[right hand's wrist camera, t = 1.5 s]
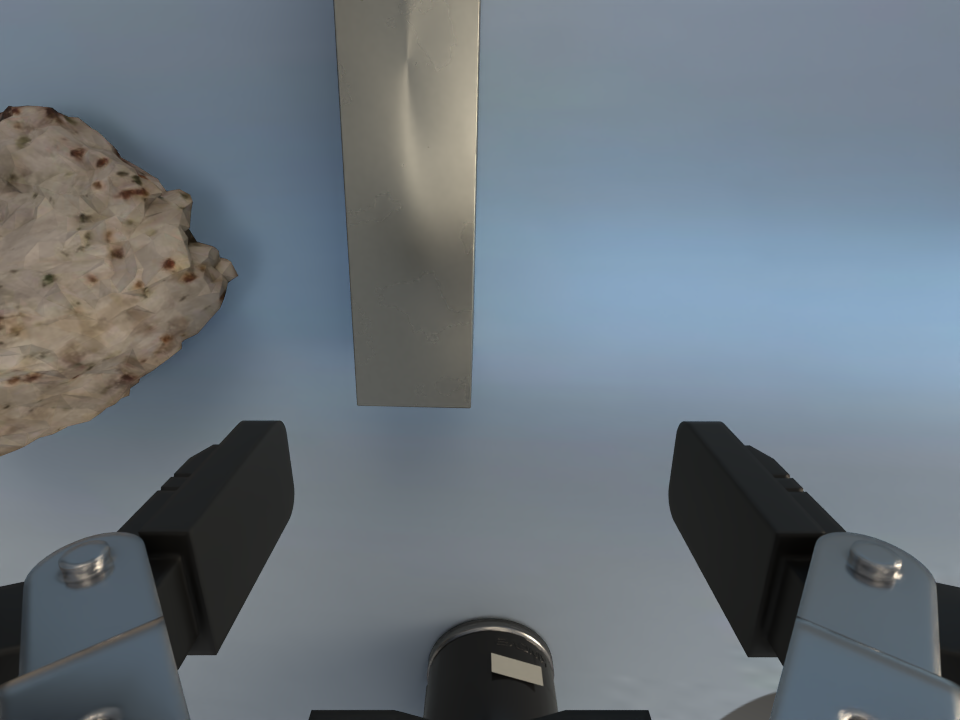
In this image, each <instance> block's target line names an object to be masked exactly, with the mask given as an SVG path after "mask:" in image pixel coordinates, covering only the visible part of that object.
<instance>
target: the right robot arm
mask: <svg viewBox="0 0 960 720" xmlns="http://www.w3.org/2000/svg"><path fill="white" fill-rule="evenodd" d="M293 504H294V483H293V476H292V469H291V461H290V454H289V447H288V440H287V433H286V428H285V426H284V424H283V422H282V421H241V422H240V423H239V424H238V425H237V426H236V427H235V428H234V429H233V430H232V431H231V432H230V433H229V434H228V436H227V437H226V438H225V439H224V440H223V441H222V442H221V443H220V444H219V445H212V446H210V447H208V448H207V449H205V450H203V451H201V452H200V453H198V454H196V455H194V456H193V457H191V458H189V459H188V460H187V461H186V462H185V463H184V464H183V465H182V466H181V467H180V468H179V470H178V471H177V472H176V473H175V474H174V477H171V478H170V479H169V480H168V481H167V482H166V483H165V484H164V485H163V486H162V487H161V491H157V492H156V493H155V494H154V495H153V496H152V497H151V498H150V499H149V500H148V501H147V502H146V503H145V504H144V505H143V506H142V507H141V508H140V509H139V510H138V511H137V512H136V513H135V514H134V515H133V516H132V517H131V518H130V519H129V520H128V521H127V522H126V523H125V524H124V525H123V526H122V527H121V528H120V529H119V530H118V531H117V532H110V533H103V534H98V535H94V536H90V537H87V538H83V539H81V540H78V541H75V542H73V543H71V544H68V545H66V546H64V547H62V548H60V549H58V550H57V551H55V552H53V553H52V554H50V555H49V556H47V557H46V558H44V559H43V560H42V561H40V562H39V563H38V564H37V565H36V566H35V567H34V568H33V569H32V570H31V571H30V573H29V574H28V575H27V577H26V579H25V582H21V583H16V584H11V585H6V586H1V587H0V720H190V716H189V712H188V709H187V705H186V701H185V697H184V693H183V689H182V686H181V682H180V678H179V674H178V669H179V668H180V666H181V664H182V663H183V661H184V659H185V658H186V656H187V655H217V653H218V651H219V649H220V647H221V645H222V644H223V642H224V640H225V638H226V636H227V634H228V632H229V631H230V629H231V627H232V625H233V623H234V621H235V619H236V618H237V616H238V614H239V612H240V610H241V608H242V606H243V605H244V603H245V601H246V599H247V597H248V595H249V593H250V592H251V590H252V588H253V586H254V584H255V582H256V580H257V579H258V577H259V575H260V573H261V571H262V569H263V567H264V565H265V564H266V562H267V560H268V558H269V556H270V554H271V552H272V551H273V549H274V547H275V545H276V543H277V541H278V539H279V538H280V536H281V534H282V532H283V530H284V528H285V526H286V525H287V523H288V521H289V519H290V516H291V513H292V510H293ZM669 506H670V511H671V515H672V518H673V520H674V522H675V524H676V526H677V528H678V529H679V531H680V533H681V535H682V537H683V539H684V540H685V542H686V544H687V546H688V548H689V550H690V551H691V553H692V555H693V557H694V559H695V561H696V562H697V564H698V566H699V568H700V570H701V572H702V573H703V575H704V577H705V579H706V581H707V583H708V585H709V586H710V588H711V590H712V592H713V594H714V596H715V597H716V599H717V601H718V603H719V605H720V607H721V608H722V610H723V612H724V614H725V616H726V618H727V619H728V621H729V623H730V625H731V627H732V629H733V630H734V632H735V634H736V636H737V638H738V640H739V641H740V643H741V645H742V647H743V649H744V651H745V653H746V654H747V656H748V657H778V658H779V660H780V662H781V663H782V665H783V670H782V674H781V678H780V682H779V686H778V689H777V693H776V697H775V701H774V705H773V709H772V712H771V716H770V720H960V587H955V586H950V585H945V584H940V583H936V582H935V579H934V577H933V575H932V574H931V573H930V571H929V570H928V569H927V568H926V567H925V566H924V565H923V564H922V563H921V562H920V561H918V560H917V559H916V558H914V557H913V556H911V555H910V554H908V553H907V552H905V551H903V550H902V549H900V548H898V547H896V546H894V545H892V544H889V543H887V542H885V541H882V540H879V539H877V538H873V537H870V536H866V535H862V534H857V533H850V532H846V531H845V530H844V529H843V528H842V527H841V526H840V525H839V524H838V523H837V522H836V521H835V520H834V519H833V518H832V517H831V516H830V515H829V514H828V513H827V512H826V511H825V510H824V509H823V508H822V507H821V506H820V505H819V504H818V503H817V502H816V501H815V500H814V499H813V498H812V497H811V496H810V495H809V494H808V493H807V492H803V488H802V487H801V486H800V485H799V484H798V483H797V482H796V481H795V480H794V479H793V478H790V475H789V474H788V473H787V472H786V471H785V470H784V469H783V468H782V467H781V466H780V465H779V464H778V463H777V462H776V461H775V460H774V459H773V458H771V457H769V456H767V455H766V454H764V453H762V452H760V451H759V450H757V449H755V448H753V447H752V446H745V445H744V444H743V443H742V442H741V441H740V440H739V439H738V438H737V437H736V436H735V435H734V434H733V433H732V432H731V431H730V430H729V428H728V427H727V426H726V425H725V424H724V423H723V422H719V421H683V422H681V423H680V425H679V427H678V429H677V434H676V440H675V447H674V455H673V462H672V469H671V476H670V483H669ZM427 680H428V685H427V687H426V696H425V706H424V715H423V718H422V717H418V716H414V715H410V714H407V713H403V712H399V711H395V710H312V711H311V714H310V717H309V720H651V717H650V714H649V711H648V710H565V711H561V712H558V708H557V700H556V693H555V686H554V669H553V662H552V657H551V653H550V650H549V648H548V646H547V645H546V643H545V642H544V641H543V639H542V638H541V637H540V636H539V635H537V634H536V633H535V632H534V631H532V630H531V629H529V628H527V627H525V626H523V625H521V624H518V623H515V622H512V621H508V620H502V619H479V620H474V621H469V622H466V623H463V624H461V625H458V626H456V627H454V628H452V629H451V630H449V631H448V632H446V633H445V634H444V635H443V636H442V637H441V638H440V639H439V640H438V641H437V642H436V644H435V645H434V647H433V649H432V651H431V653H430V656H429V663H428V672H427Z"/></svg>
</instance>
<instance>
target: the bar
mask: <svg viewBox="0 0 960 720" xmlns="http://www.w3.org/2000/svg"><path fill="white" fill-rule="evenodd" d="M333 3H334V20H335V37H336V54H337V71H338V88H339V105H340V122H341V139H342V156H343V173H344V190H345V207H346V224H347V241H348V258H349V275H350V292H351V309H352V326H353V342H354V359H355V376H356V393H357V405H358V406H397V407H440V408H471V387H472V361H473V324H474V279H475V235H476V190H477V145H478V101H479V56H480V11H481V0H333Z"/></svg>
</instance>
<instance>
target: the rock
mask: <svg viewBox="0 0 960 720" xmlns="http://www.w3.org/2000/svg"><path fill="white" fill-rule="evenodd" d="M192 202H193V201H192V199H191V196H190V195H189V194H188V193H186V192H184V191H182V190H180V189H177V190H172V191H166V190H165V189H164V188H163V186H162V185H161V184H160V182H159V180H158V179H157V178H155V177H153V176H152V175H150V174H149V173H147V172H145V171H144V170H142V169H141V168H139V167H137V166H136V165H134V164H132V163H130V162H128V161H127V160H125V159H123V158H121V157H120V155H119V153H118V152H117V150H116V149H115V148H114V147H113V146H112V145H111V144H110V143H109V142H108V141H107V140H106V139H105V138H104V137H103V136H102V135H101V134H100V133H99V132H98V131H96V130H94V129H92V128H91V127H89V126H88V125H87V124H86V123H84V122H83V121H82V120H81V119H79V118H75V117H68V116H65V115H63V114H61V113H58V112H57V111H56V110H54V109H53V108H50V107H40V106H20V107H12V106H8V107H7V108H6V109H5V111H4V112H2V113H0V456H2V455H5V454H7V453H10V452H13V451H15V450H18V449H20V448H22V447H24V446H26V445H28V444H29V443H31V442H33V441H34V440H36V439H38V438H40V437H44V436H48V435H52V434H54V433H56V432H58V431H60V430H62V429H64V428H66V427H67V426H71V425H75V424H79V423H83V422H87V421H90V420H91V419H93V418H94V417H96V416H97V415H99V414H100V413H101V412H103V411H104V410H105V409H106V408H108V407H110V406H112V405H114V404H116V403H117V402H118V401H119V400H120V399H121V398H123V397H126V396H129V394H130V388H131V387H133V386H134V385H136V384H137V383H139V380H140V378H141V377H143V376H144V375H146V374H148V373H150V372H151V371H153V370H154V369H155V368H157V367H158V366H159V365H161V364H162V363H163V362H165V361H166V360H168V359H169V358H170V357H172V356H173V355H174V354H175V353H177V352H178V351H179V350H180V349H182V342H183V341H184V340H185V339H187V338H190V337H192V336H194V335H196V334H198V333H199V331H200V330H201V329H202V328H203V327H204V326H205V324H206V323H207V322H208V321H209V320H210V319H211V318H212V316H213V315H214V314H215V313H216V312H217V311H218V310H219V309H220V307H221V304H222V302H223V300H224V297H225V293H226V289H227V284H228V282H229V281H231V280H232V279H234V278H236V277H237V276H238V274H237V272H236V270H235V269H234V267H233V265H232V263H231V262H230V261H229V260H227V259H224V258H220V256H219V251H218V250H217V249H216V248H215V247H213V246H210V245H206V244H203V243H199V242H197V241H196V240H195V238H194V237H193V235H192V233H191V232H190V230H189V228H190V218H191V208H192Z"/></svg>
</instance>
